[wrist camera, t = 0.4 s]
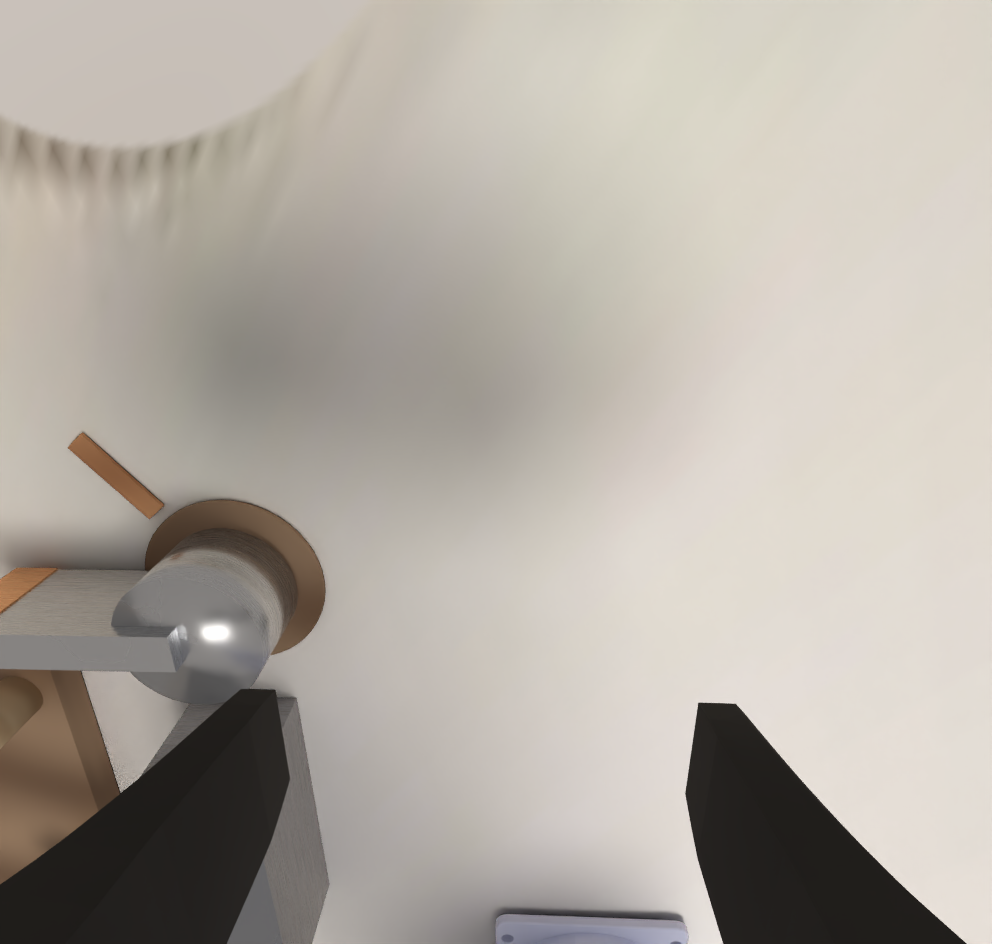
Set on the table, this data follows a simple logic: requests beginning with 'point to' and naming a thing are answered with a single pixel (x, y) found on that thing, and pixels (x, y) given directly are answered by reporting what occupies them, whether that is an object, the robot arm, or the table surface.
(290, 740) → the steel bar
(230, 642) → the silver lever knob
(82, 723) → the walnut board
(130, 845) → the robot arm
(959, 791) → the table surface
